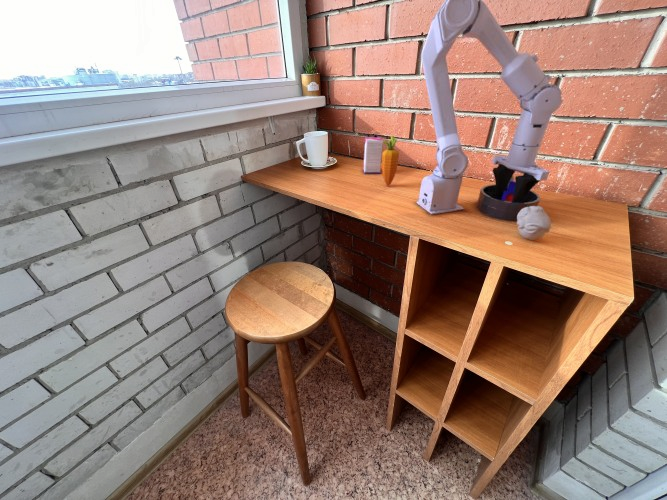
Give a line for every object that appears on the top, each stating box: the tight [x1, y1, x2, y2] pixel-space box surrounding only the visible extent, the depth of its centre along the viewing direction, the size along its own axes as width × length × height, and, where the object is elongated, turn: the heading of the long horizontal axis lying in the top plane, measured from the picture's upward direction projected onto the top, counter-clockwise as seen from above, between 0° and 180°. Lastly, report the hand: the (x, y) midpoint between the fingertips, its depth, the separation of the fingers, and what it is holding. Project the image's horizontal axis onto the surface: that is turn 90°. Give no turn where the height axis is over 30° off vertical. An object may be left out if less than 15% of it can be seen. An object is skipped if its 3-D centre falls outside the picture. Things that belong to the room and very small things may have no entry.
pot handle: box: [507, 175, 515, 190], centre depth 80 cm, size 11×2×2 cm, turn 151°
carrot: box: [381, 135, 400, 187], centre depth 87 cm, size 5×5×15 cm
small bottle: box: [501, 181, 518, 203], centre depth 72 cm, size 4×4×8 cm
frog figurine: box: [516, 205, 552, 241], centre depth 60 cm, size 6×7×7 cm
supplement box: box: [363, 136, 384, 175], centre depth 101 cm, size 6×6×12 cm
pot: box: [476, 183, 541, 222], centre depth 73 cm, size 13×13×5 cm
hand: (507, 199), depth 73 cm, fingers closed on small bottle, 5 cm apart
